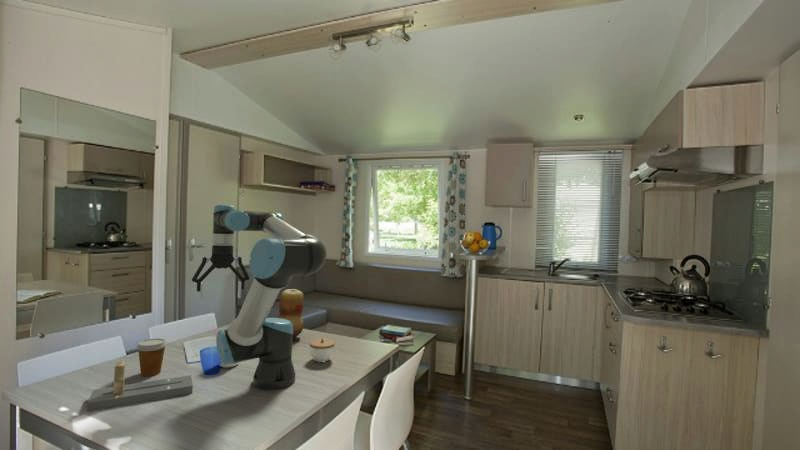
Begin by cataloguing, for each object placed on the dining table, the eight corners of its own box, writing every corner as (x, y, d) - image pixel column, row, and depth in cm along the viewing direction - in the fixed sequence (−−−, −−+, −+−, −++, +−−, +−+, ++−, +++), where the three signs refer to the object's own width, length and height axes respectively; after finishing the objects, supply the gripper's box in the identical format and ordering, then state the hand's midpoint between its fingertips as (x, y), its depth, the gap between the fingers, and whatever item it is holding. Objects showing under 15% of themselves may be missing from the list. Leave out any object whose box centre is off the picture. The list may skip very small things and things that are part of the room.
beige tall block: (124, 388, 125) (125, 360, 125) (122, 393, 121) (124, 365, 121) (115, 389, 124) (116, 362, 124) (113, 394, 120) (114, 366, 120)
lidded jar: (315, 366, 158) (316, 344, 158) (304, 358, 166) (305, 337, 166) (338, 361, 164) (339, 340, 164) (326, 354, 173) (327, 333, 173)
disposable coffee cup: (150, 379, 138) (152, 347, 138) (129, 376, 140) (130, 344, 140) (171, 370, 147) (172, 339, 147) (150, 367, 149) (152, 336, 149)
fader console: (190, 381, 138) (191, 374, 138) (192, 393, 129) (192, 385, 129) (92, 397, 123) (93, 389, 123) (87, 411, 114) (87, 402, 114)
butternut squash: (288, 344, 184) (290, 293, 184) (269, 339, 191) (271, 289, 191) (308, 337, 196) (310, 289, 196) (290, 333, 202) (292, 286, 202)
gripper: (254, 244, 157) (252, 295, 157) (185, 243, 144) (183, 299, 144) (258, 245, 151) (255, 298, 151) (186, 244, 137) (184, 303, 137)
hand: (220, 298), depth 147 cm, fingers open, 13 cm apart
